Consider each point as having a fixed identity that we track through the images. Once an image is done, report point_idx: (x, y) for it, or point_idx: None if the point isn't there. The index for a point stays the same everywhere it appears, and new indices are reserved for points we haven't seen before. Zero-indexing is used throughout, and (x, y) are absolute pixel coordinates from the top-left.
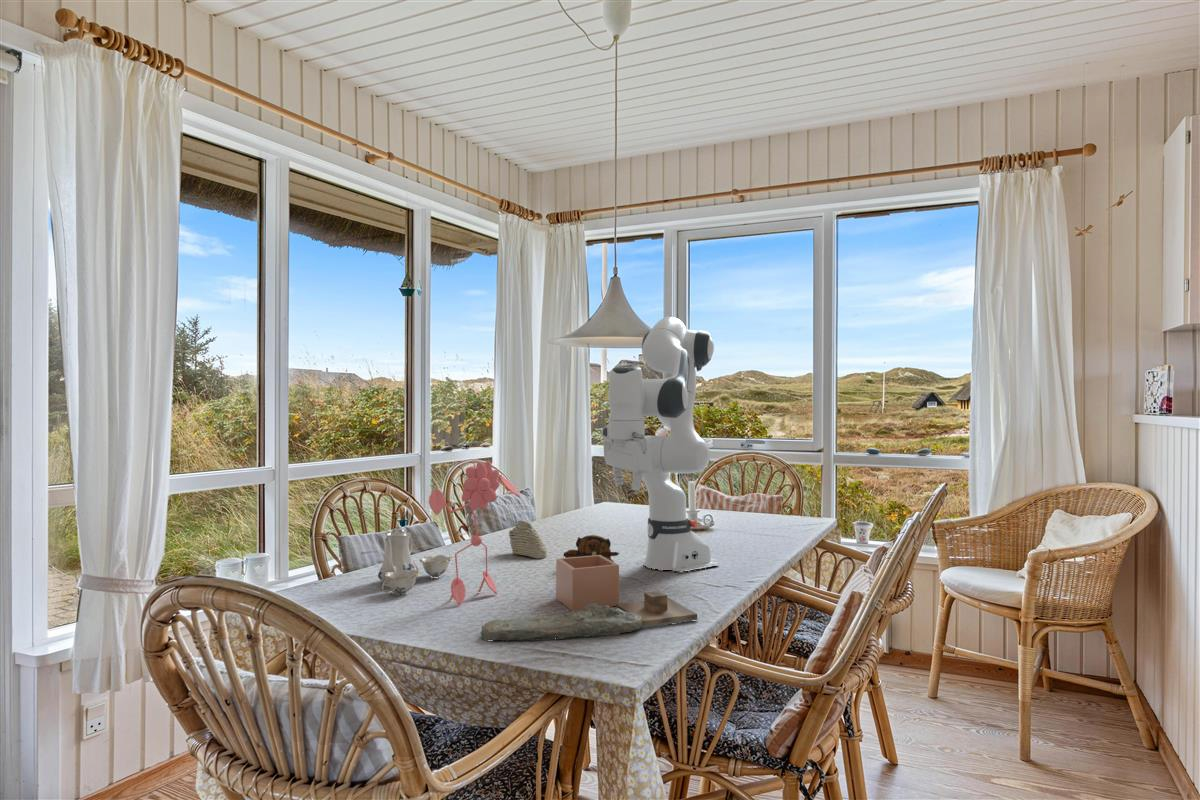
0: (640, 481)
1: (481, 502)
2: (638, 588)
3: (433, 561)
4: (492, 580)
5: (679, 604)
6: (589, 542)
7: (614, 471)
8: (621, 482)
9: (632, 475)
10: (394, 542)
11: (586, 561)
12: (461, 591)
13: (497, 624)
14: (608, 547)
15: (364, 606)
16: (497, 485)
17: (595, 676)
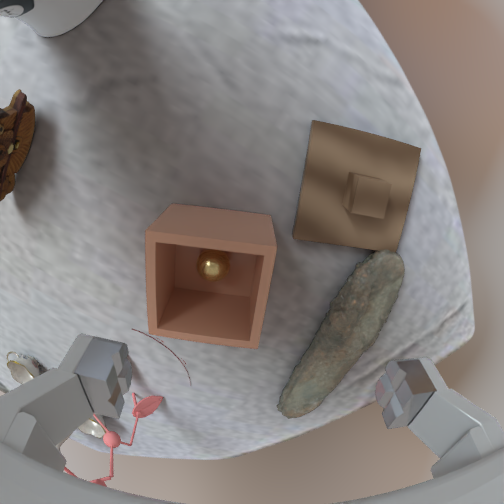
0: (458, 396)
1: None
2: (174, 110)
3: (15, 367)
4: None
5: (365, 134)
6: None
7: (55, 444)
8: (122, 364)
9: (431, 469)
10: None
11: (158, 267)
12: (147, 403)
13: (298, 410)
14: (7, 116)
15: (134, 439)
16: None
17: (443, 354)
